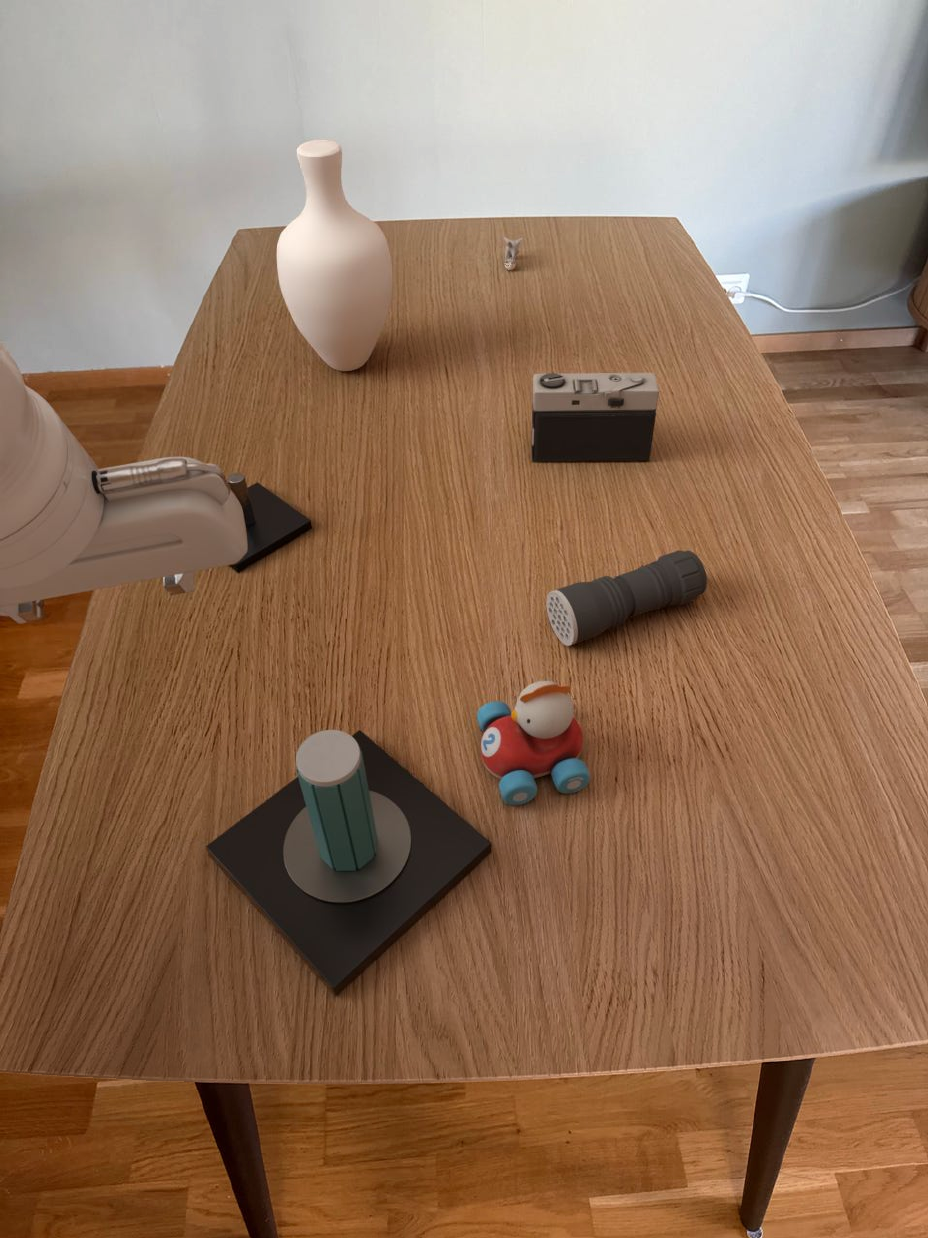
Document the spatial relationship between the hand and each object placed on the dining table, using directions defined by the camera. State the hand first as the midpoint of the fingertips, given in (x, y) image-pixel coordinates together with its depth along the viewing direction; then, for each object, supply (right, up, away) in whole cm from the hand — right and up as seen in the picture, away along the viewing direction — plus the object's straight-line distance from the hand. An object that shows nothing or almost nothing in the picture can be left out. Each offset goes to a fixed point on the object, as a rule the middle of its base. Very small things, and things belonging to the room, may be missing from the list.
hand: (108, 596), depth 58 cm
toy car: (+28, -13, +21) cm, 38 cm away
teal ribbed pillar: (+13, -19, +13) cm, 27 cm away
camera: (+38, +20, +53) cm, 68 cm away
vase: (+7, +33, +67) cm, 76 cm away
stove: (+13, -20, +15) cm, 28 cm away
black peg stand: (-1, +9, +43) cm, 44 cm away
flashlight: (+38, -1, +33) cm, 50 cm away
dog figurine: (+30, +55, +87) cm, 107 cm away
